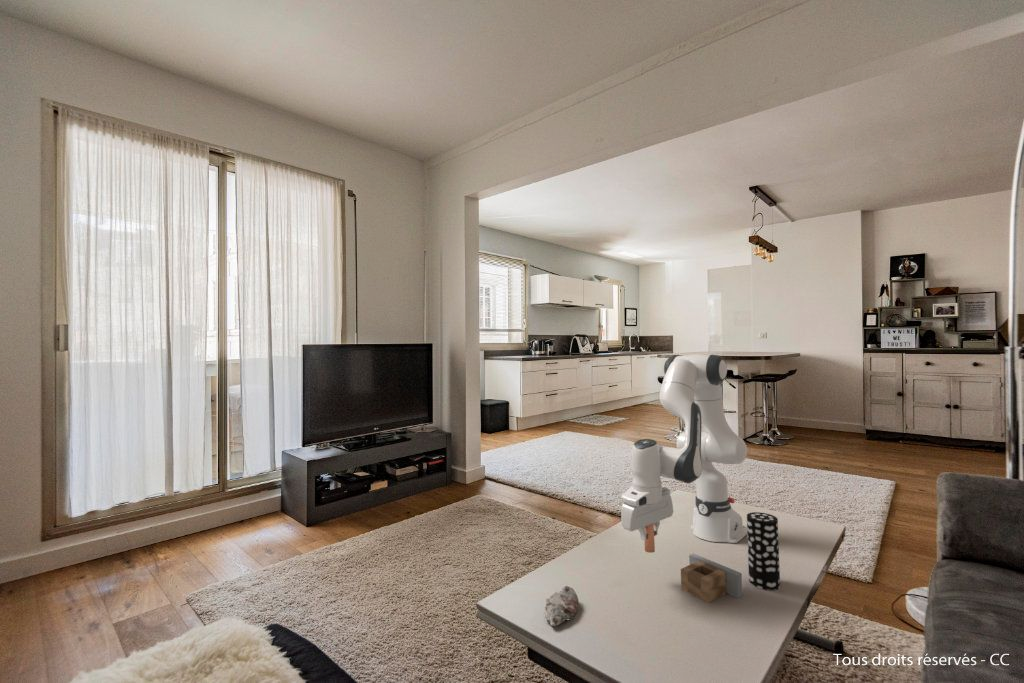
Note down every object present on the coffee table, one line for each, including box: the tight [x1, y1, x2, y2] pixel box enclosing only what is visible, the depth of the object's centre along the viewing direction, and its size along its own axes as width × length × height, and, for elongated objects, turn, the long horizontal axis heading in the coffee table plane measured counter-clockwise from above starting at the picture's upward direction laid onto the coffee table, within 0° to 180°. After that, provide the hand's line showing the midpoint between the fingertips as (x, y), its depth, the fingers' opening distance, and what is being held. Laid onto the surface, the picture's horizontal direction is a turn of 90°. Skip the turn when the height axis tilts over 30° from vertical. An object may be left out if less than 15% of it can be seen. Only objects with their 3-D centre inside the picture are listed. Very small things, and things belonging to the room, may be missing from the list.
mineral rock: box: [543, 585, 580, 627], centre depth 126 cm, size 15×8×4 cm, turn 138°
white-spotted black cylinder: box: [746, 511, 781, 591], centre depth 140 cm, size 8×8×20 cm
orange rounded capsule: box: [643, 523, 656, 554], centre depth 143 cm, size 3×3×10 cm
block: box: [680, 561, 728, 603], centre depth 136 cm, size 9×9×6 cm
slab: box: [688, 552, 743, 599], centre depth 139 cm, size 2×16×6 cm, turn 33°
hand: (649, 537), depth 143 cm, fingers closed on orange rounded capsule, 3 cm apart
